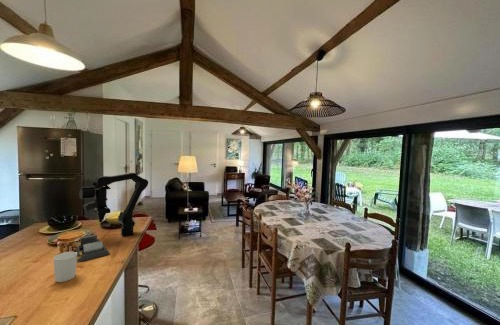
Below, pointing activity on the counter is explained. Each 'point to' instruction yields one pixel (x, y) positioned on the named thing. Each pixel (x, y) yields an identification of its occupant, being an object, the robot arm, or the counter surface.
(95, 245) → the panel
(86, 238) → the rack
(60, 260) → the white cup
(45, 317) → the counter surface
